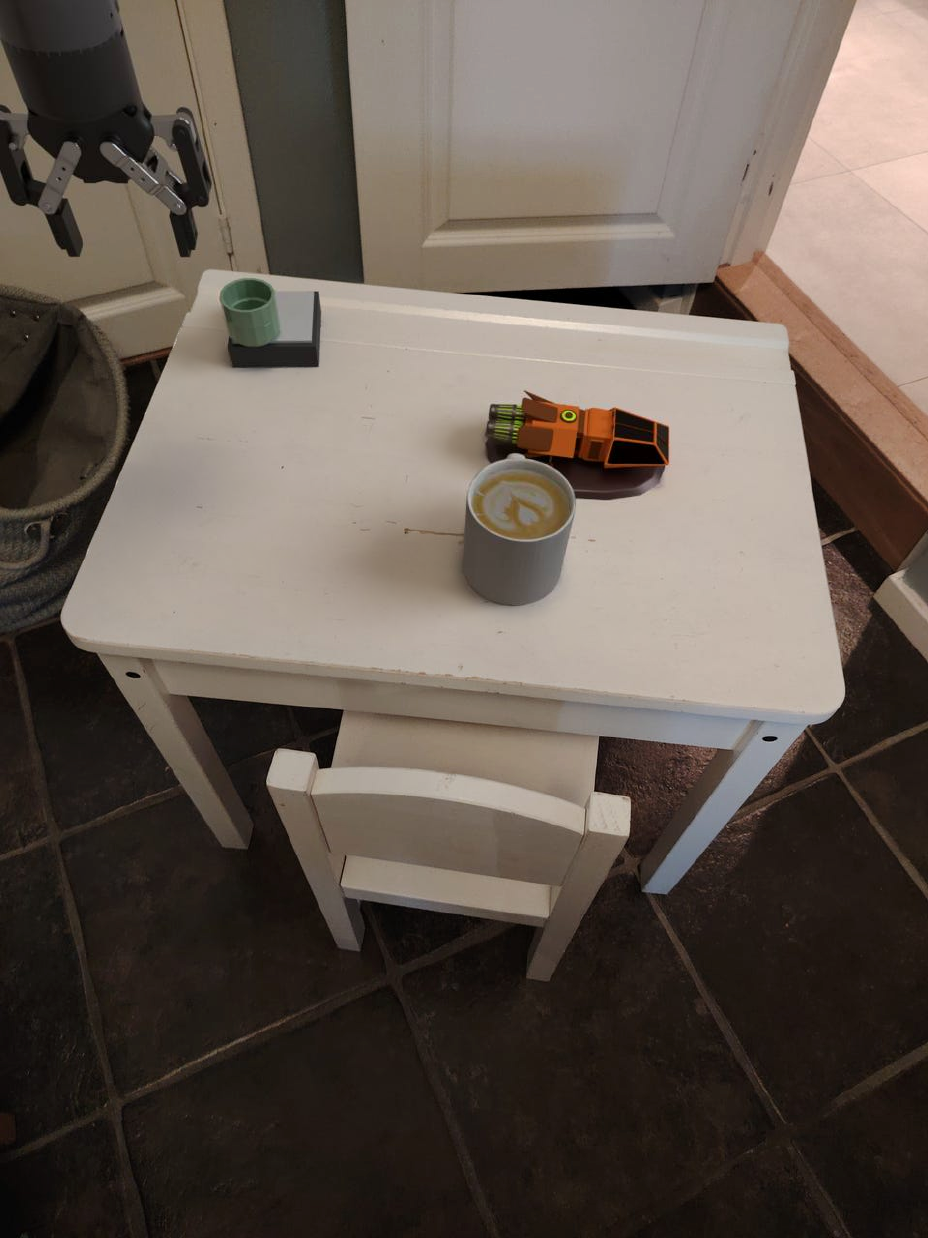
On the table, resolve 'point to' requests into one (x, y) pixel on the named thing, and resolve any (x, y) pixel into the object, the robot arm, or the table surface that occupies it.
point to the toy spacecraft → (582, 445)
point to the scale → (287, 335)
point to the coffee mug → (516, 530)
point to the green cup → (250, 312)
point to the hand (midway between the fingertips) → (132, 251)
